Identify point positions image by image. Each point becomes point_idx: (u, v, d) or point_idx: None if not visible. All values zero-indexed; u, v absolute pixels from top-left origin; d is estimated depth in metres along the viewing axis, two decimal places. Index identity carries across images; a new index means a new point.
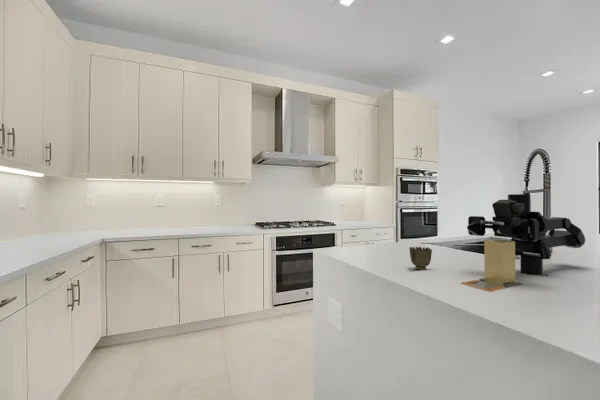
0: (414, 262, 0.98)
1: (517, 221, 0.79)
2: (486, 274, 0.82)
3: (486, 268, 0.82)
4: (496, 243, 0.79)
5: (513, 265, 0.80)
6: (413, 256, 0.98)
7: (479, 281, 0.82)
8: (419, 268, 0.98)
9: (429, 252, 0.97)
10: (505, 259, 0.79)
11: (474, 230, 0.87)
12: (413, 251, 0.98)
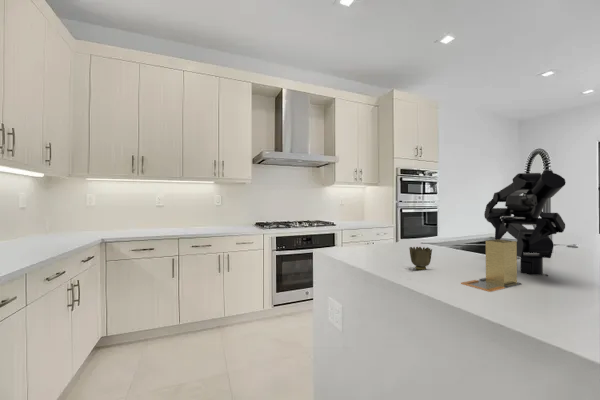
0: (414, 262, 0.98)
1: (539, 222, 0.80)
2: (488, 274, 0.82)
3: (487, 268, 0.82)
4: (497, 243, 0.79)
5: (514, 265, 0.80)
6: (413, 256, 0.98)
7: (479, 281, 0.82)
8: (419, 268, 0.98)
9: (429, 252, 0.97)
10: (507, 259, 0.78)
11: (502, 234, 0.90)
12: (413, 251, 0.98)
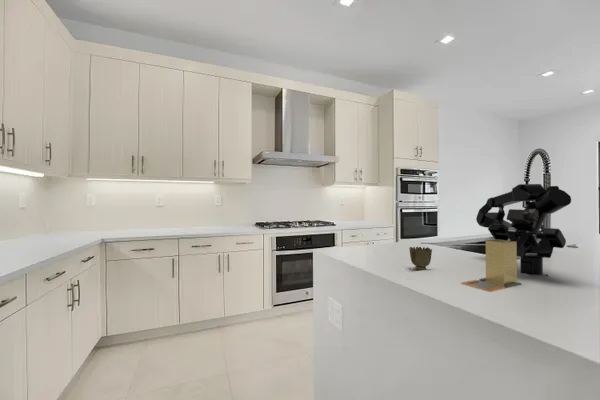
0: (414, 262, 0.98)
1: (522, 235, 0.84)
2: (488, 274, 0.82)
3: (487, 268, 0.82)
4: (497, 243, 0.79)
5: (514, 265, 0.80)
6: (413, 256, 0.98)
7: (479, 281, 0.82)
8: (419, 268, 0.98)
9: (429, 252, 0.97)
10: (507, 259, 0.78)
11: None
12: (413, 251, 0.98)
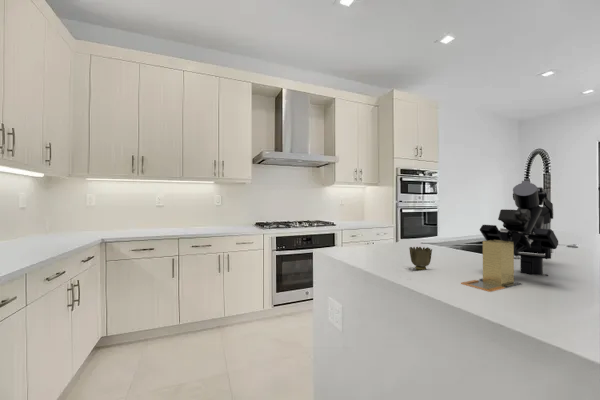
0: (414, 262, 0.98)
1: (514, 236, 0.82)
2: (485, 275, 0.81)
3: (484, 269, 0.81)
4: (494, 243, 0.79)
5: (512, 266, 0.79)
6: (413, 256, 0.98)
7: (479, 281, 0.82)
8: (419, 268, 0.98)
9: (429, 252, 0.97)
10: (504, 260, 0.78)
11: None
12: (413, 251, 0.98)
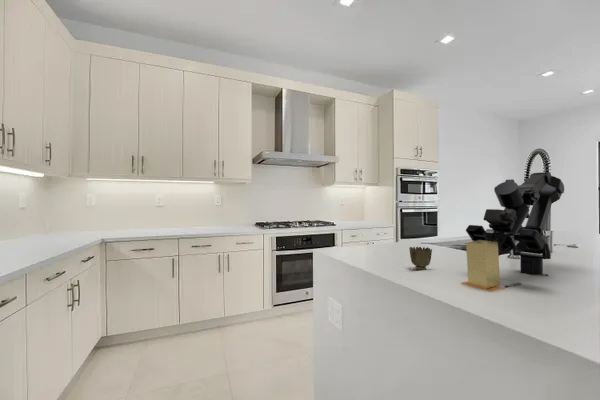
0: (414, 262, 0.98)
1: (500, 237, 0.79)
2: (470, 277, 0.78)
3: (469, 271, 0.78)
4: (478, 245, 0.76)
5: (497, 267, 0.77)
6: (413, 256, 0.98)
7: None
8: (419, 268, 0.98)
9: (429, 252, 0.97)
10: (488, 262, 0.75)
11: None
12: (413, 251, 0.98)
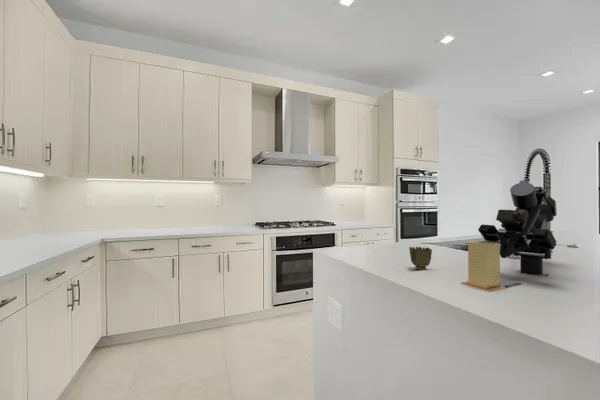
0: (414, 262, 0.98)
1: (512, 236, 0.82)
2: (470, 277, 0.78)
3: (470, 271, 0.79)
4: (480, 245, 0.76)
5: (498, 268, 0.77)
6: (413, 256, 0.98)
7: None
8: (419, 268, 0.98)
9: (429, 252, 0.97)
10: (489, 262, 0.75)
11: None
12: (413, 251, 0.98)
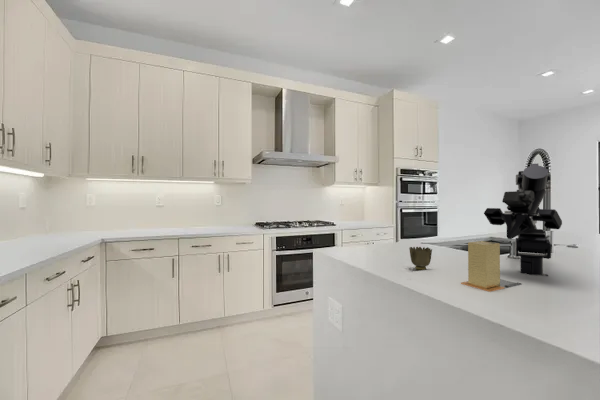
0: (414, 262, 0.98)
1: (518, 217, 0.83)
2: (470, 277, 0.78)
3: (470, 271, 0.79)
4: (480, 245, 0.76)
5: (498, 268, 0.77)
6: (413, 256, 0.98)
7: None
8: (419, 268, 0.98)
9: (429, 252, 0.97)
10: (489, 262, 0.75)
11: None
12: (413, 251, 0.98)
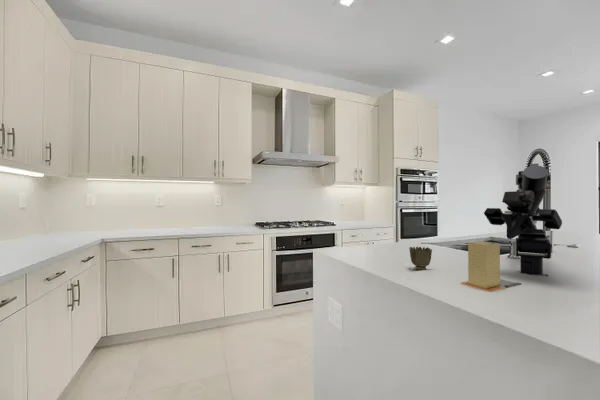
0: (414, 262, 0.98)
1: (518, 217, 0.83)
2: (470, 277, 0.78)
3: (470, 271, 0.79)
4: (480, 245, 0.76)
5: (498, 268, 0.77)
6: (413, 256, 0.98)
7: None
8: (419, 268, 0.98)
9: (429, 252, 0.97)
10: (489, 262, 0.75)
11: None
12: (413, 251, 0.98)
